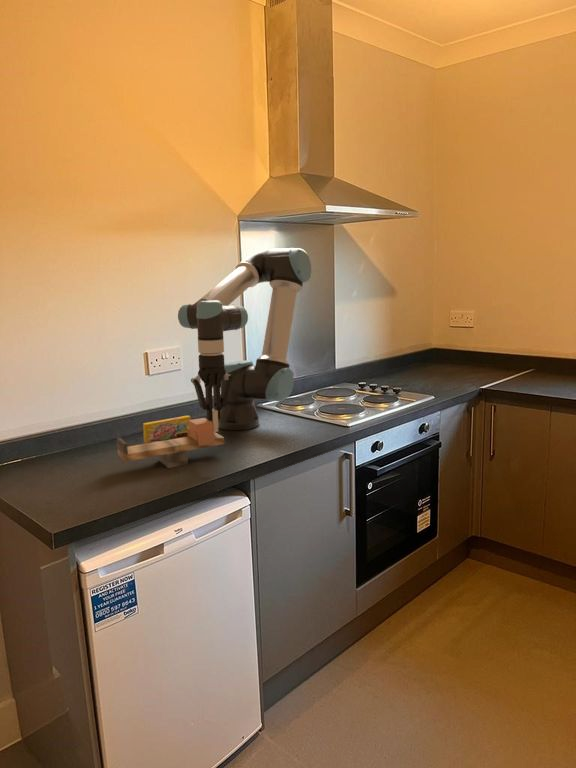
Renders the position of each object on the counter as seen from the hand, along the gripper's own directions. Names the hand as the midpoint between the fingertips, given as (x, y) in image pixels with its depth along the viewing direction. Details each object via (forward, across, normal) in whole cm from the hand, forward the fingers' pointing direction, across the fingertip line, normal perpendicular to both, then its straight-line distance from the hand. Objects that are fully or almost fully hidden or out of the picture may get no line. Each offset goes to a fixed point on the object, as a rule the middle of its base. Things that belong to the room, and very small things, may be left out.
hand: (214, 430), depth 179 cm
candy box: (+8, +8, -19) cm, 22 cm away
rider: (+3, +4, 0) cm, 5 cm away
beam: (+8, +13, 0) cm, 15 cm away
